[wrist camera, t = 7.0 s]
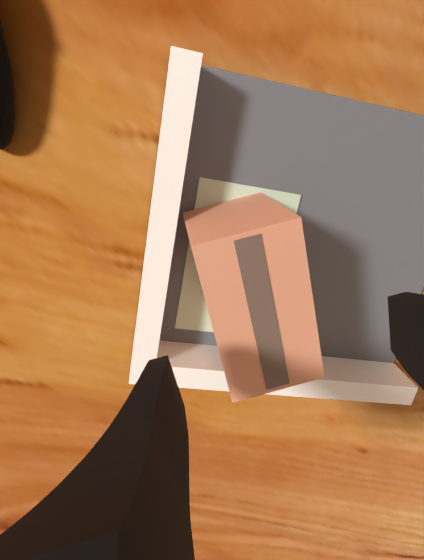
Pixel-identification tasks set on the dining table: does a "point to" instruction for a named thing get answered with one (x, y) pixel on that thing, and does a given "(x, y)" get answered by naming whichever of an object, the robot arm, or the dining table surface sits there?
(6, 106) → the game controller
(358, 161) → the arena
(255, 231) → the block
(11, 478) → the dining table surface
